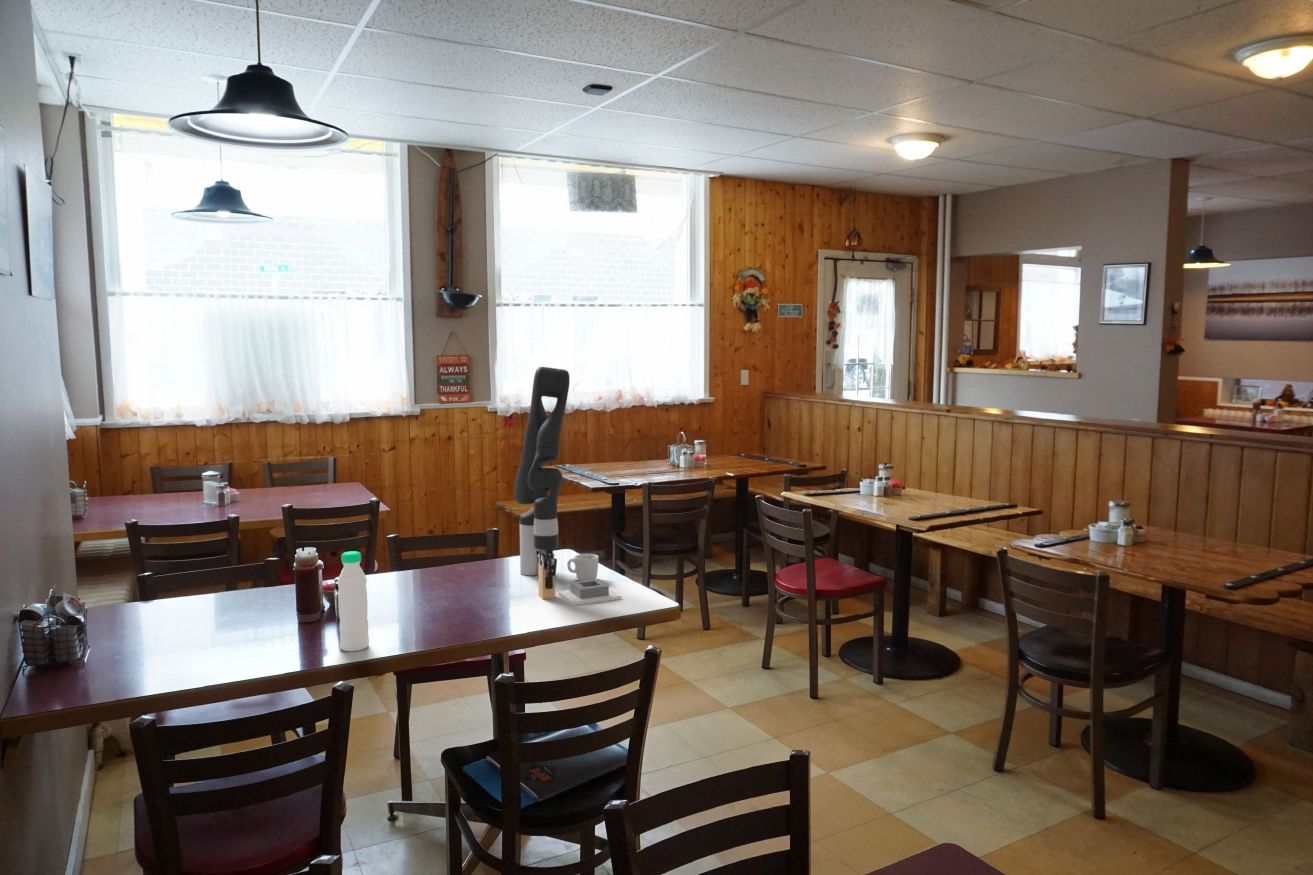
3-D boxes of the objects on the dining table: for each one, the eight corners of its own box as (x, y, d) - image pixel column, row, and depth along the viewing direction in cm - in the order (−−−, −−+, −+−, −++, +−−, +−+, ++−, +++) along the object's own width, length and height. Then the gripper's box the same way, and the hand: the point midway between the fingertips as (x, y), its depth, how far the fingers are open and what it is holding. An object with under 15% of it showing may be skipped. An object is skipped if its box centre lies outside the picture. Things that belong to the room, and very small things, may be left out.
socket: (558, 594, 272) (557, 581, 271) (605, 588, 279) (605, 576, 278) (572, 605, 260) (571, 592, 260) (621, 598, 267) (621, 586, 266)
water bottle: (359, 641, 229) (355, 548, 226) (374, 646, 224) (371, 552, 222) (334, 648, 223) (330, 553, 221) (349, 654, 219) (346, 557, 216)
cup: (563, 581, 287) (562, 557, 286) (572, 575, 294) (572, 552, 294) (593, 584, 284) (593, 560, 283) (602, 577, 291) (602, 554, 290)
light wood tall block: (538, 595, 270) (538, 556, 269) (551, 594, 272) (550, 555, 271) (542, 599, 267) (542, 559, 265) (555, 597, 268) (554, 558, 267)
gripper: (565, 535, 262) (565, 591, 264) (550, 526, 275) (551, 579, 277) (541, 537, 259) (542, 594, 261) (527, 529, 272) (528, 582, 274)
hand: (546, 586), depth 269 cm, fingers closed on light wood tall block, 4 cm apart
